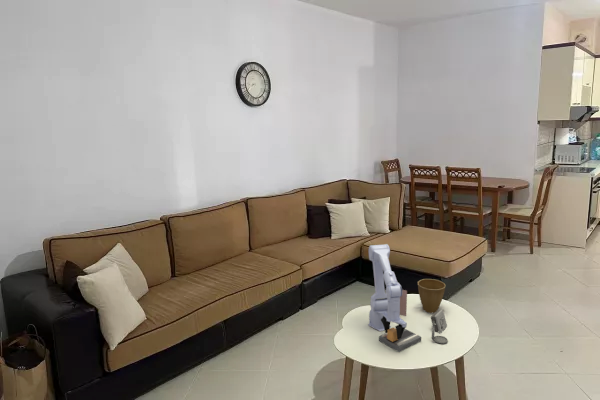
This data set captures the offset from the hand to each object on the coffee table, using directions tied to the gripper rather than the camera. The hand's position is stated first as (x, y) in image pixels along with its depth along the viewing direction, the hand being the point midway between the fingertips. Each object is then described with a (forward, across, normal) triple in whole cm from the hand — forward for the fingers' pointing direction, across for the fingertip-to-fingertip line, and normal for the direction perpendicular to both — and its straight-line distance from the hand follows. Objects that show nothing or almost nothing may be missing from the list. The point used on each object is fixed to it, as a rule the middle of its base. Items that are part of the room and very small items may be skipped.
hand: (393, 335), depth 208 cm
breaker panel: (+5, 0, +5) cm, 7 cm away
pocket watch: (+5, +11, +20) cm, 23 cm away
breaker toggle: (+2, 0, 0) cm, 2 cm away
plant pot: (+5, -12, +44) cm, 46 cm away
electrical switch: (+5, +4, +30) cm, 31 cm away
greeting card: (+5, -20, +25) cm, 32 cm away
